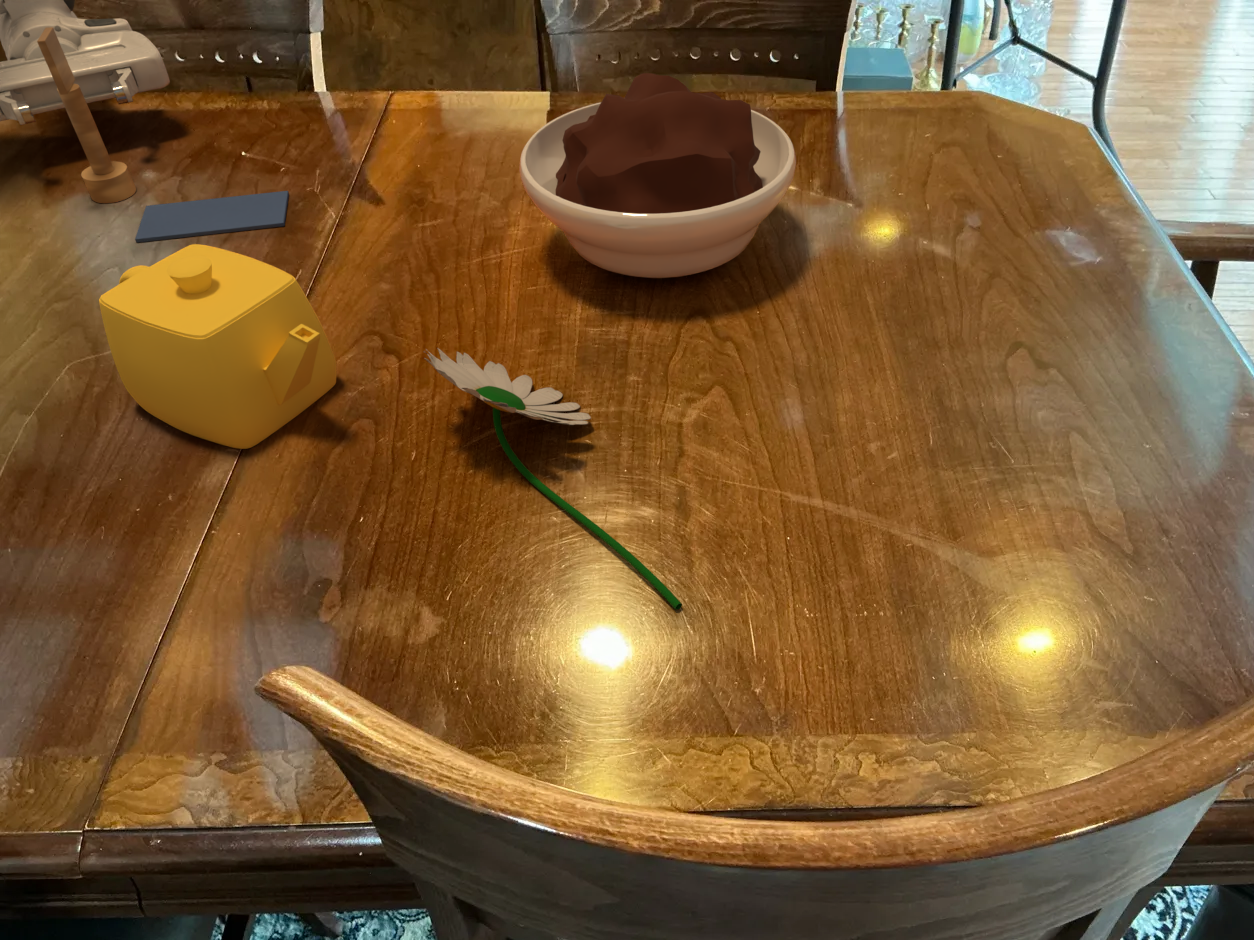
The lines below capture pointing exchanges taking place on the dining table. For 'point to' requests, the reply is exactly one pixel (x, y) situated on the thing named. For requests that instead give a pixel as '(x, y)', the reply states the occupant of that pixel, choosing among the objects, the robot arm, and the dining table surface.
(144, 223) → the blue-grey rectangular slab
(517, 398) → the flower
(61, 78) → the wooden peg
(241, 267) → the teapot
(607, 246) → the bowl of brown chunks
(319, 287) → the dining table surface
